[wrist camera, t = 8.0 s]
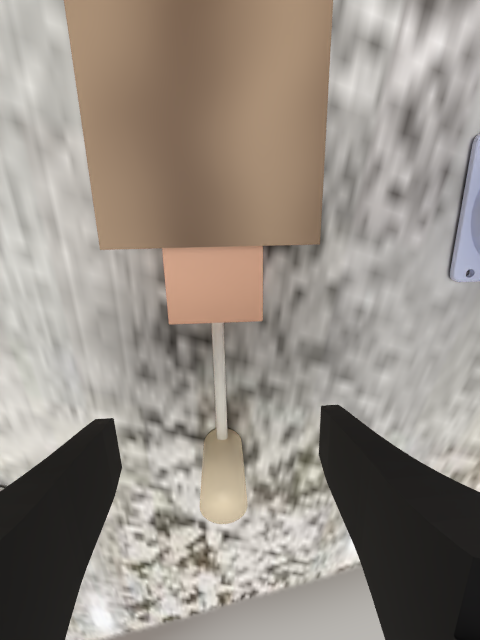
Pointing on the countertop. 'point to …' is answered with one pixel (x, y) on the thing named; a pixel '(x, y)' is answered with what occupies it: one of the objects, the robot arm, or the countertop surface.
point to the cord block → (217, 352)
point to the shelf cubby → (203, 119)
